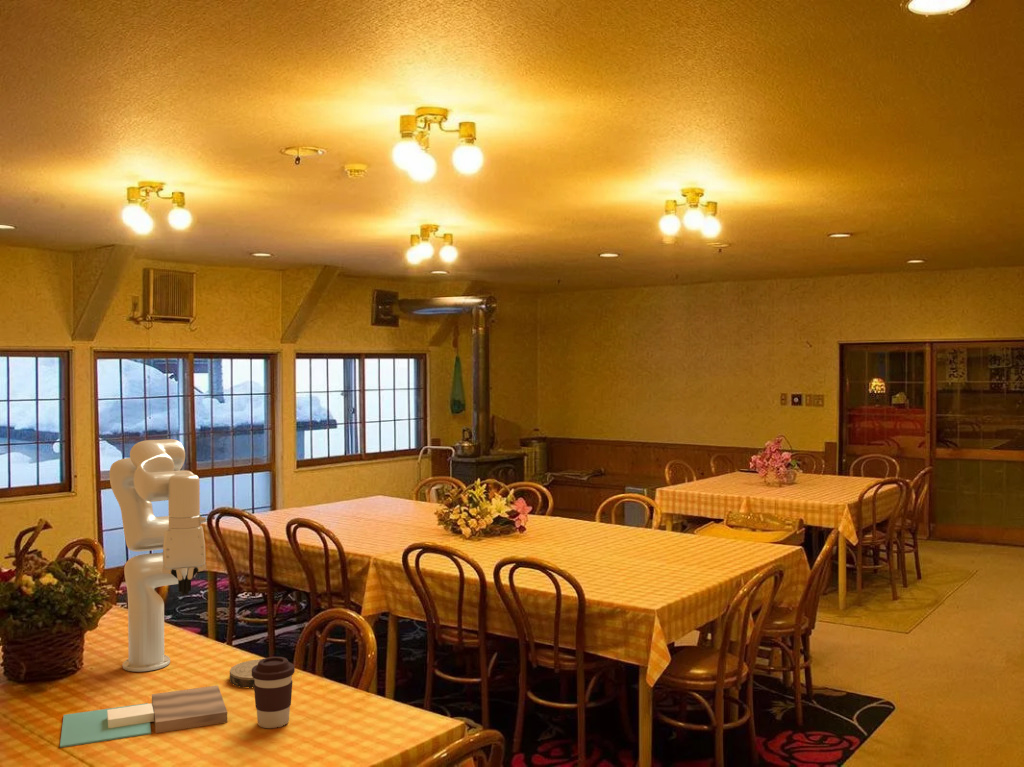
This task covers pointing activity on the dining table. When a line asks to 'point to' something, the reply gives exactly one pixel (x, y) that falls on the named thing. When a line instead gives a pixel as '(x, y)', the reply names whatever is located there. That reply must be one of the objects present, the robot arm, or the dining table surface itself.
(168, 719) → the panel
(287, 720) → the coffee cup
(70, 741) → the mat
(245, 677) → the wood slice coaster
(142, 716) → the cream foam board
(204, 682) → the dining table surface
